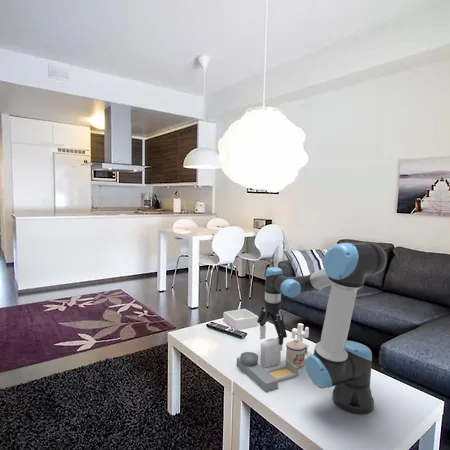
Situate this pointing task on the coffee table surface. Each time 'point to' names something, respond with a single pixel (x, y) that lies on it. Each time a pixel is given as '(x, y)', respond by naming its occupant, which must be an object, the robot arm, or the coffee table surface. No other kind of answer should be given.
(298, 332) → the figurine
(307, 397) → the coffee table surface
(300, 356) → the teacup with lid
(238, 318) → the box
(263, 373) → the deck
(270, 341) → the photo printer
